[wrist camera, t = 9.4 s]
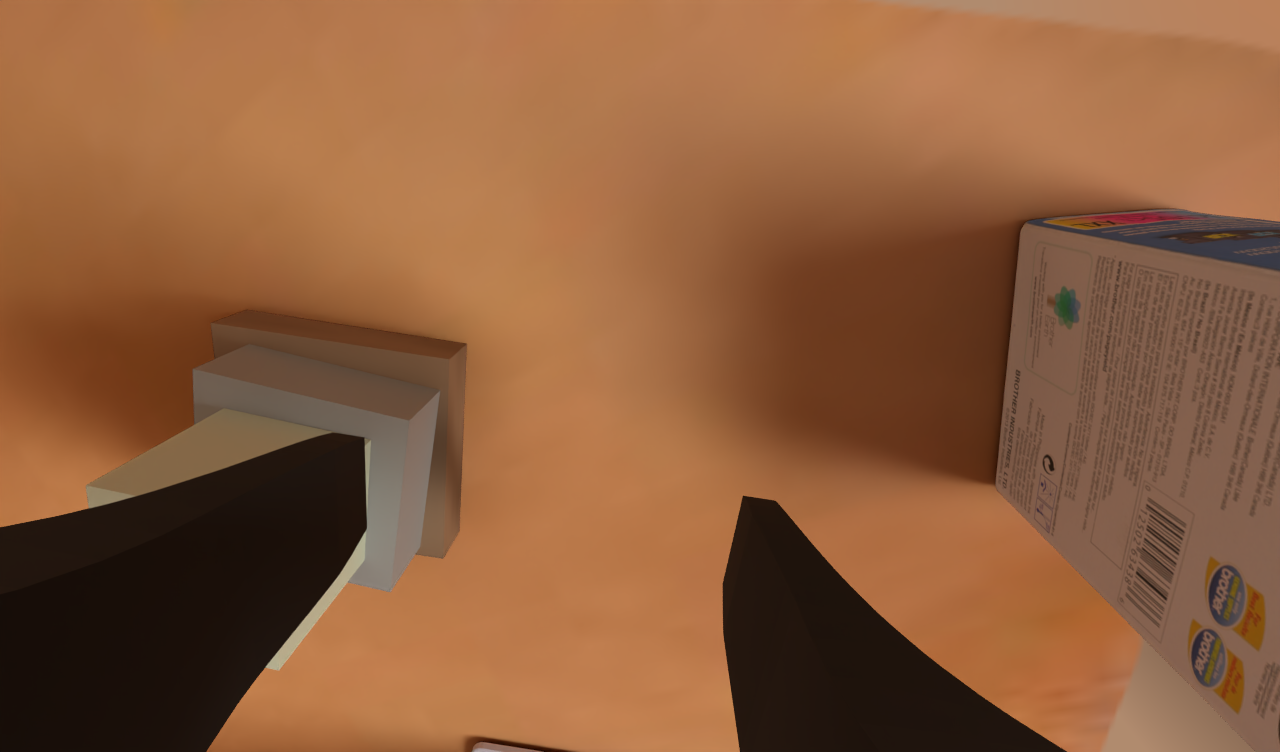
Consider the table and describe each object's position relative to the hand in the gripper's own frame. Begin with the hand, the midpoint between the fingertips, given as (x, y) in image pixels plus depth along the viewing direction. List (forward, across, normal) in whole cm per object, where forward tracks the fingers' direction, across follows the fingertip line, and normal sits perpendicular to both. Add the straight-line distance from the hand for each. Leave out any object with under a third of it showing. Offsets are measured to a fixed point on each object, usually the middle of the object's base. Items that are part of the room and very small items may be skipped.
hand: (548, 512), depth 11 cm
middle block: (+9, +9, +5) cm, 13 cm away
